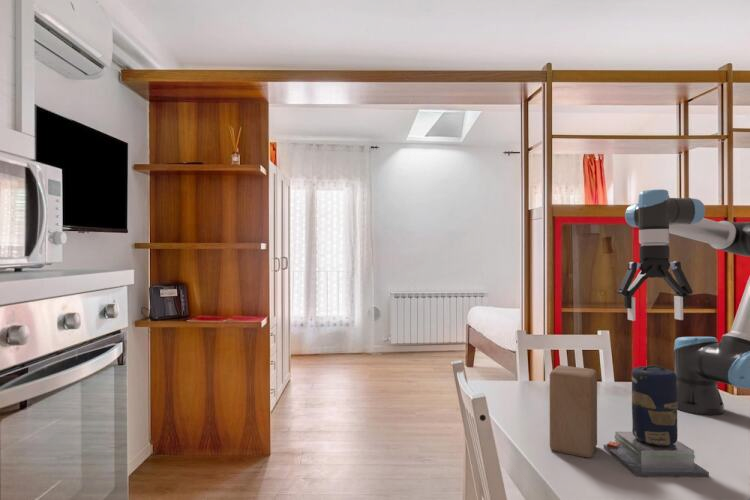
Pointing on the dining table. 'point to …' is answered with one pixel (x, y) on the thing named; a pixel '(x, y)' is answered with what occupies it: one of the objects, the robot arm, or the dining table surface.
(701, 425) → the dining table surface
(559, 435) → the block
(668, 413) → the canister
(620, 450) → the stand
